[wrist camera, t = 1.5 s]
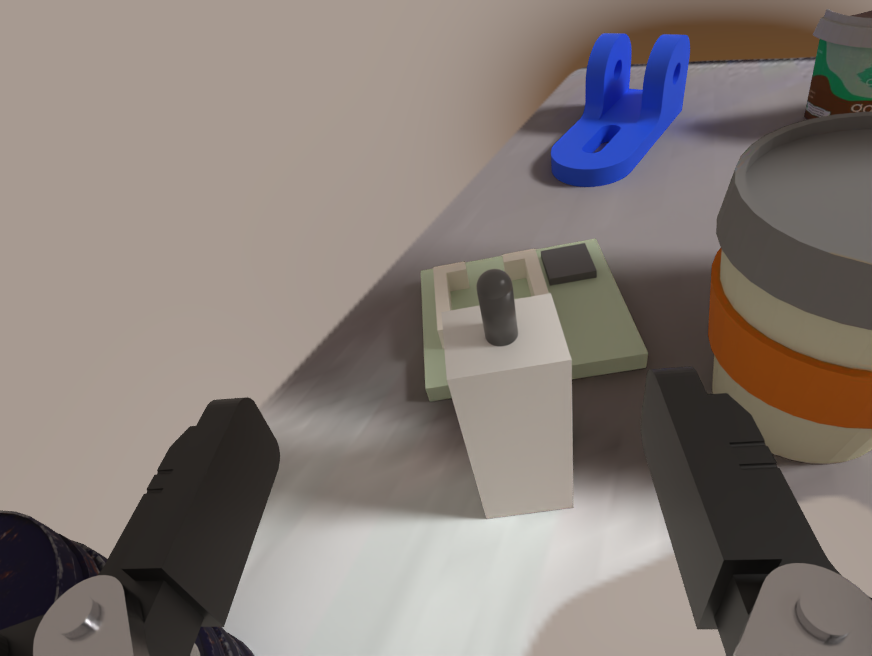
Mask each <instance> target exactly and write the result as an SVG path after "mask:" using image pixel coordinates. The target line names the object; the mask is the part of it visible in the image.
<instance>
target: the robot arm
mask: <svg viewBox="0 0 872 656" xmlns="http://www.w3.org/2000/svg"><path fill="white" fill-rule="evenodd" d="M641 437H642V444H643V449H644V453H645V456H646V460H647V463H648V466H649V470H650V473H651V476H652V480H653V483H654V486H655V490H656V493H657V496H658V500H659V503H660V506H661V510H662V513H663V516H664V520H665V523H666V526H667V530H668V533H669V537H670V540H671V543H672V547H673V550H674V553H675V557H676V560H677V563H678V567H679V570H680V573H681V577H682V580H683V583H684V587H685V590H686V593H687V597H688V600H689V603H690V606H691V610H692V613H693V617H694V620H695V623H696V626H697V629H718V631H719V634H720V637H721V640H722V643H723V646H724V649H725V653H726V656H872V598H870V597H868V596H867V595H866V594H865V593H864V592H863V591H862V590H861V589H860V588H858V587H857V586H856V585H854V584H853V583H852V582H850V581H849V580H848V579H846V578H844V577H843V576H842V575H841V574H840V573H839V572H838V571H837V570H836V569H835V568H834V566H833V565H832V564H831V563H830V561H829V560H828V558H827V557H826V555H825V553H824V552H823V550H822V548H821V546H820V544H819V542H818V541H817V539H816V537H815V535H814V533H813V531H812V529H811V527H810V525H809V523H808V522H807V520H806V518H805V516H804V514H803V512H802V510H801V508H800V506H799V504H798V503H797V501H796V499H795V497H794V495H793V493H792V491H791V489H790V487H789V485H788V484H787V482H786V480H785V478H784V476H783V474H782V472H781V470H780V468H777V466H776V461H775V459H774V457H773V455H772V453H771V451H770V449H769V447H768V446H766V445H765V440H764V438H763V436H762V434H761V432H760V430H759V428H758V426H757V425H756V423H755V421H754V419H753V417H752V415H751V414H750V413H749V412H748V411H747V410H746V409H744V408H743V407H742V406H741V405H740V404H739V403H738V402H737V401H735V400H734V399H733V398H732V397H731V396H730V395H729V394H728V393H720V394H707V393H706V391H705V389H704V387H703V385H702V382H701V380H700V378H699V376H698V374H697V372H696V370H695V369H694V368H693V367H677V368H663V369H650V370H648V373H647V377H646V385H645V392H644V400H643V408H642V416H641ZM279 461H280V452H279V446H278V443H277V440H276V438H275V437H274V435H273V433H272V432H271V430H270V428H269V426H268V425H267V423H266V421H265V419H264V418H263V416H262V414H261V412H260V411H259V409H258V407H257V406H256V404H255V402H254V401H253V400H252V399H250V398H235V399H221V400H213V401H212V402H210V403H209V404H208V405H207V407H206V409H205V411H204V412H203V414H202V416H201V418H200V420H199V422H198V424H197V426H190V427H189V428H188V429H187V430H186V431H185V432H184V433H183V434H182V435H181V436H180V437H179V438H178V439H177V440H176V441H175V442H174V443H173V445H172V446H171V447H170V448H169V450H168V452H167V453H166V455H165V457H164V459H163V461H162V462H161V464H160V466H159V468H158V470H157V471H158V474H157V475H154V477H153V479H152V480H151V482H150V484H149V486H148V488H147V493H146V494H144V495H143V497H142V499H141V500H140V502H139V504H138V506H137V507H136V509H135V511H134V513H133V515H132V517H131V519H130V520H129V522H128V524H127V526H126V527H125V529H124V531H123V533H122V535H121V536H120V538H119V540H118V542H117V543H116V546H115V548H114V549H113V551H112V553H111V554H110V556H109V558H108V560H107V561H106V563H105V565H104V567H103V568H102V570H101V571H100V573H99V574H98V575H97V576H94V577H91V578H88V579H86V580H83V581H82V582H80V583H78V584H76V585H75V586H73V587H72V588H70V589H69V590H68V591H66V592H65V593H64V594H63V595H62V596H61V597H60V598H58V599H57V600H56V601H55V603H54V604H53V605H52V606H51V607H50V608H49V610H48V611H47V613H46V614H44V615H41V616H39V617H36V618H33V619H30V620H27V621H25V622H22V623H19V624H16V625H13V626H10V627H8V628H5V629H2V630H0V656H200V652H199V650H198V647H197V646H196V644H195V641H196V638H197V635H198V633H199V630H200V627H224V625H225V622H226V619H227V616H228V613H229V610H230V607H231V604H232V601H233V599H234V596H235V593H236V590H237V587H238V584H239V581H240V578H241V575H242V573H243V570H244V567H245V564H246V561H247V558H248V555H249V552H250V549H251V546H252V544H253V541H254V538H255V535H256V532H257V529H258V526H259V523H260V520H261V518H262V515H263V512H264V509H265V506H266V503H267V500H268V497H269V494H270V492H271V489H272V486H273V483H274V480H275V477H276V474H277V471H278V468H279Z"/></svg>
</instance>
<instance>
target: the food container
mask: <svg viewBox="0 0 872 656" xmlns="http://www.w3.org/2000/svg"><path fill="white" fill-rule="evenodd" d="M813 35H814V36H816V37H817V38H819V39H820V40H819V46H818V50H817V56H816V60H815V65H814V70H813V75H812V80H811V85H810V91H809V96H808V101H807V106H806V111H805V116H804V117H805V118H806V119H813V118H819V117H824V116H829V115H835V114H845V113H855V112H872V11H868V12H865V13H861V14H857V15H852V16H847V15H843V14H839V13H836V12H833V11H831V10H829V9H827V10H826V13H825V15H824V17H822V18H821V19H820V21H819V23H818V25H817V27H816V29H815V31H814V33H813Z"/></svg>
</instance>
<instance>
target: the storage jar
mask: <svg viewBox="0 0 872 656" xmlns="http://www.w3.org/2000/svg"><path fill="white" fill-rule="evenodd" d="M107 560H108V559H106V558H105V557H104V556H102V555H100V554H99V553H97V552H96V551H94V550H92V549H90V548H89V547H87V546H85V545H84V544H81V543H78V542H75V541H72V540H69V539H68V538H66V537H64V536H62V535H61V534H58V533H56V532H55V531H53V530H52V529H50V528H49V527H47V526H45V525H44V524H42V523H40V522H39V521H37V520H35V519H33V518H32V517H30V516H27V515H24V514H21V513H18V512H12V511H0V630H2V629H5V628H8V627H10V626H13V625H16V624H19V623H22V622H25V621H27V620H30V619H33V618H36V617H39V616H41V615H44V614H46V613H47V611H48V610H49V608H50V607H51V606H52V605H53V604H54V603H55V601H56V600H57V599H58V598H60V597H61V596H62V595H63V594H64V593H65V592H66V591H68V590H69V589H70V588H72V587H73V586H75V585H76V584H78V583H80V582H82V581H83V580H86V579H88V578H91V577H94V576H97V575H98V574H99V573H100V571H101V570H102V568H103V567H104V565H105V563H106V561H107ZM195 644H196V646H197V647H198V650H199V652H200V656H254V654H253V653H252V651H251V650H250V649H249V648H248V647H247V646H246V645H245V644H244V643H243V642H241V641H240V640H238V639H237V638H235V637H234V636H232V635H230V634H229V633H227V632H226V631H225V630H224V629H223V628H222V627H200V630H199V633H198V635H197V638H196V641H195Z"/></svg>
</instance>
